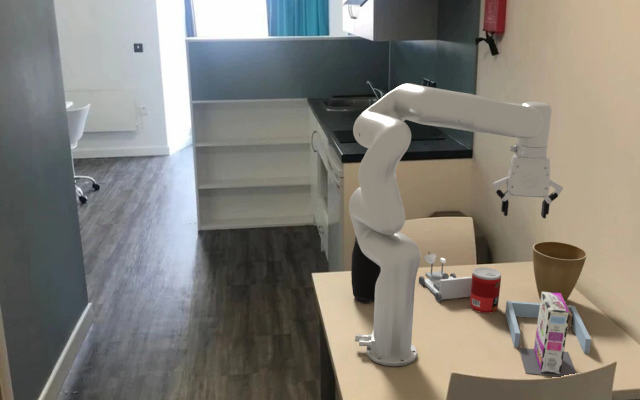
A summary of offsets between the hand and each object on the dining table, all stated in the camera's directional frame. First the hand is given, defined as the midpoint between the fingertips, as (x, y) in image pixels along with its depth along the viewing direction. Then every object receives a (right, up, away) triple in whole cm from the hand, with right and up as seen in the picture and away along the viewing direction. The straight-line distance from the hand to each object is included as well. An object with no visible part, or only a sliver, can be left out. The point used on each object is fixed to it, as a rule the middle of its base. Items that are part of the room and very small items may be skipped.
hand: (524, 215), depth 170 cm
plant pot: (+16, -26, +24) cm, 39 cm away
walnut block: (+13, -30, +9) cm, 34 cm away
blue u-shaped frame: (+7, -32, +4) cm, 33 cm away
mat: (+3, -36, -10) cm, 37 cm away
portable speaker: (-40, -25, +24) cm, 52 cm away
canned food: (-6, -27, +19) cm, 34 cm away
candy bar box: (+2, -36, -10) cm, 37 cm away
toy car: (-15, -24, +31) cm, 42 cm away
